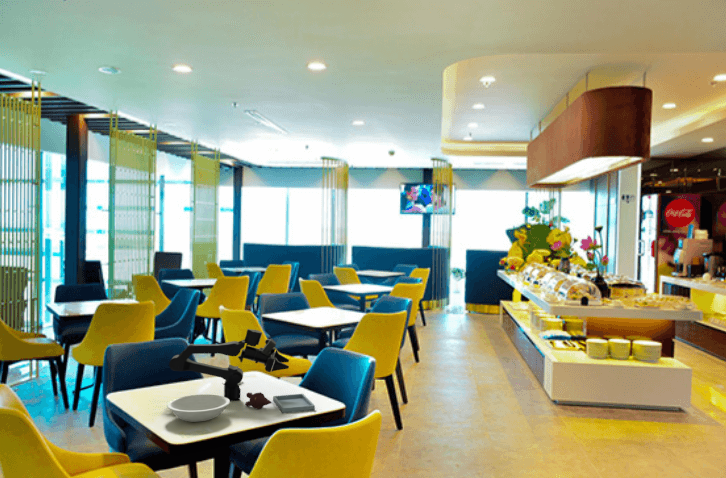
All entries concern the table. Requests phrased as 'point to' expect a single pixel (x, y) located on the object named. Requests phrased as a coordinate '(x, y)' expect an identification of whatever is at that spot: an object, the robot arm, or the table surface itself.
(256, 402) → the icecream
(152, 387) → the table surface
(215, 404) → the soup bowl
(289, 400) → the tray
